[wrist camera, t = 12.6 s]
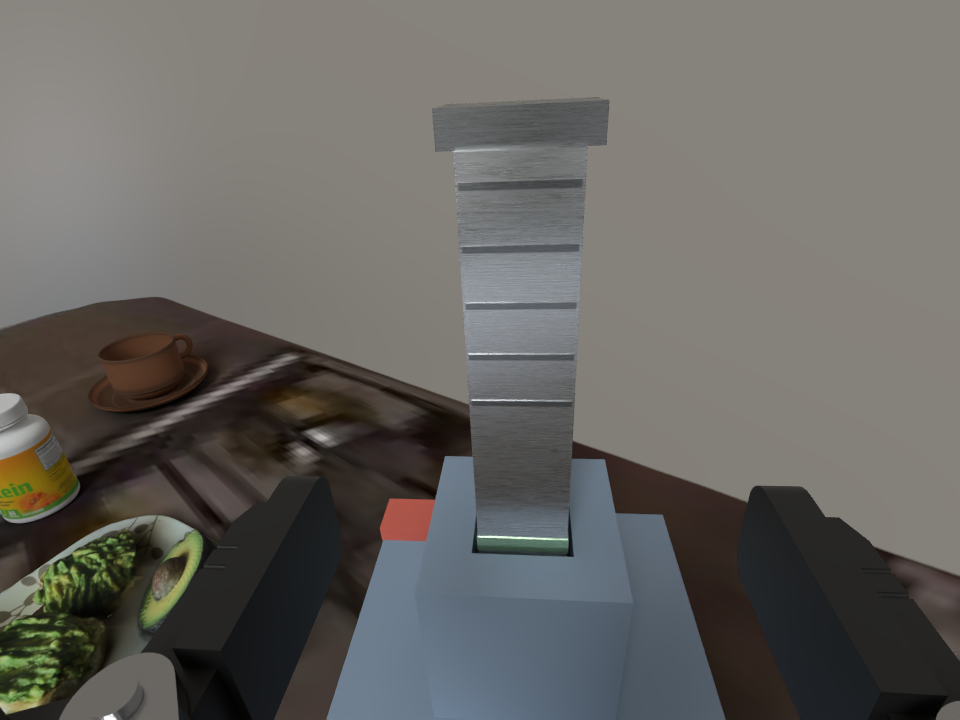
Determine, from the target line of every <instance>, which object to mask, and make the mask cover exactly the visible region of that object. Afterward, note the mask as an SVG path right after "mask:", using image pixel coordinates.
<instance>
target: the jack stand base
mask: <svg viewBox="0 0 960 720" xmlns="http://www.w3.org/2000/svg"><path fill="white" fill-rule="evenodd" d="M380 531H381V536H382V540H383V544H382V547H381V550H380V553H379V556H378V559H377V562H376V566H375V569H374V572H373V575H372V578H371V581H370V584H369V588H368V591H367V594H366V597H365V600H364V603H363V606H362V610H361V613H360V616H359V619H358V622H357V625H356V628H355V632H354V635H353V638H352V641H351V644H350V647H349V650H348V654H347V657H346V660H345V663H344V666H343V669H342V672H341V676H340V679H339V682H338V685H337V688H336V691H335V694H334V698H333V701H332V704H331V707H330V710H329V713H328V716H327V720H726V719H725V716H724V713H723V710H722V706H721V703H720V700H719V697H718V693H717V690H716V687H715V684H714V680H713V677H712V674H711V671H710V667H709V664H708V661H707V658H706V654H705V651H704V648H703V645H702V641H701V638H700V635H699V632H698V628H697V625H696V622H695V619H694V615H693V612H692V609H691V606H690V602H689V599H688V596H687V593H686V589H685V586H684V583H683V580H682V576H681V573H680V570H679V567H678V563H677V560H676V557H675V554H674V550H673V547H672V544H671V541H670V537H669V534H668V531H667V528H666V524H665V521H664V518H663V515H654V514H619V513H615V508H614V503H613V498H612V493H611V488H610V483H609V478H608V473H607V468H606V463H605V459H572V460H571V480H570V499H569V519H568V538H569V544H568V553H567V557H560V556H533V555H506V554H480V553H479V550H478V549H477V531H478V530H477V515H476V499H475V484H474V468H473V457H451V456H445V460H444V464H443V468H442V473H441V477H440V482H439V486H438V491H437V495H436V500H419V499H390V500H389V503H388V506H387V509H386V512H385V515H384V518H383V520H382V523H381V526H380Z"/></svg>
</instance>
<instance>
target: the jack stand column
mask: <svg viewBox="0 0 960 720" xmlns="http://www.w3.org/2000/svg"><path fill="white" fill-rule="evenodd" d="M432 113H433V127H434V139H435V151H454V152H453V161H454V176H455V192H456V205H457V222H458V237H459V252H460V268H461V282H462V283H461V284H462V299H463V315H464V330H465V345H466V361H467V376H468V391H469V407H470V422H471V438H472V453H473V468H474V484H475V499H476V515H477V530H478V531H477V549H478V550H479V553H480V554H506V555H533V556H560V557H567V553H568V544H569V538H568V519H569V499H570V480H571V460H572V440H573V421H574V399H575V382H576V381H575V380H576V362H577V342H578V323H579V322H578V321H579V303H580V301H579V300H580V283H581V263H582V243H583V224H584V203H585V202H584V201H585V184H586V166H587V165H586V164H587V146H593V145H606V143H607V129H608V113H609V100H606V99H602V98H597V97H594V98H572V99H550V100H529V101H507V102H486V103H465V104H447V105H443V106H439V107H436V108H432Z"/></svg>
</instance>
